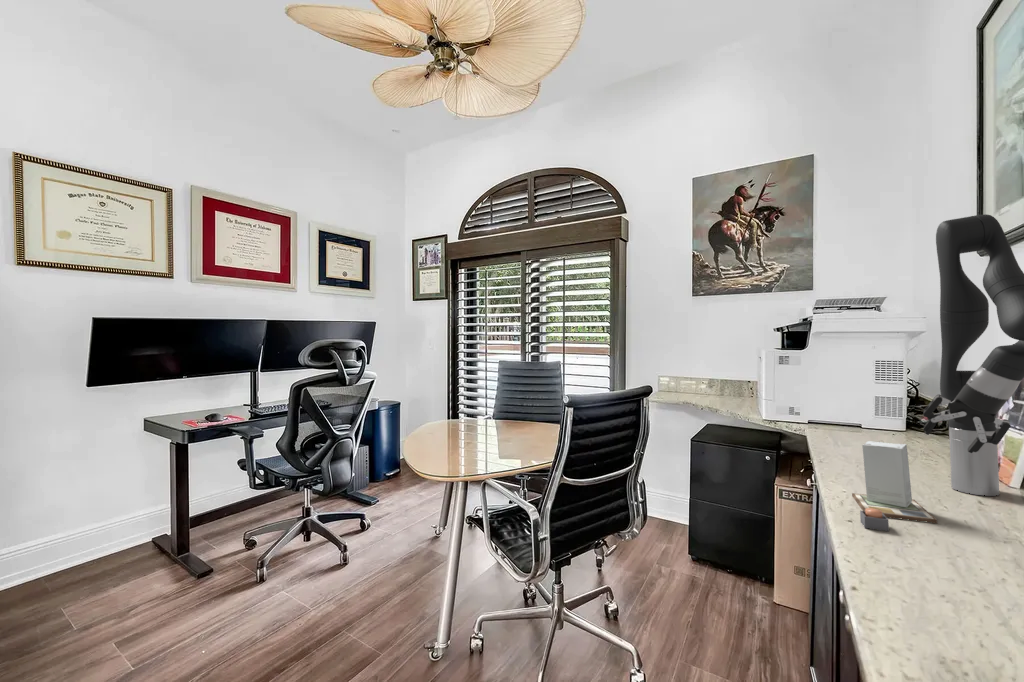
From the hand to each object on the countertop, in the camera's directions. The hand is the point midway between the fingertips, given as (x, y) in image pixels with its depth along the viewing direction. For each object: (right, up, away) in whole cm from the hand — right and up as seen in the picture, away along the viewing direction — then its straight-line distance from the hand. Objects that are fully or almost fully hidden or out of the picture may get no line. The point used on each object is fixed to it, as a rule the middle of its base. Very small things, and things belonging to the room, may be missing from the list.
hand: (947, 441), depth 112 cm
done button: (-27, -15, -11) cm, 33 cm away
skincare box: (-13, -16, +2) cm, 21 cm away
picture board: (-14, -17, 0) cm, 22 cm away
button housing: (-27, -17, -11) cm, 34 cm away
